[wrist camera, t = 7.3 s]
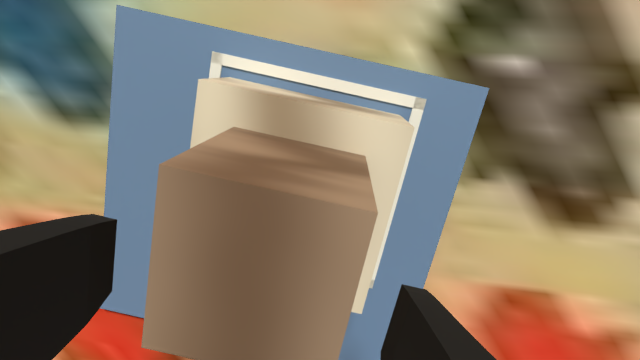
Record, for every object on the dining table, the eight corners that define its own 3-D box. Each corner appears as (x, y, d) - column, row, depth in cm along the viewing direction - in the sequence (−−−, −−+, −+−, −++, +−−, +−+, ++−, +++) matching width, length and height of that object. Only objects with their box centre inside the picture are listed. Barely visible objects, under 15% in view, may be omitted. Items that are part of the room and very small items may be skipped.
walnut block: (365, 155, 14) (377, 212, 9) (335, 273, 16) (330, 390, 10) (234, 126, 14) (159, 164, 9) (216, 246, 16) (141, 347, 10)
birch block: (399, 115, 18) (414, 127, 14) (358, 267, 20) (361, 314, 16) (230, 77, 18) (198, 78, 14) (207, 233, 20) (175, 271, 16)
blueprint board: (484, 87, 18) (489, 88, 17) (393, 367, 22) (394, 376, 22) (124, 6, 18) (115, 4, 17) (104, 301, 22) (97, 308, 22)
